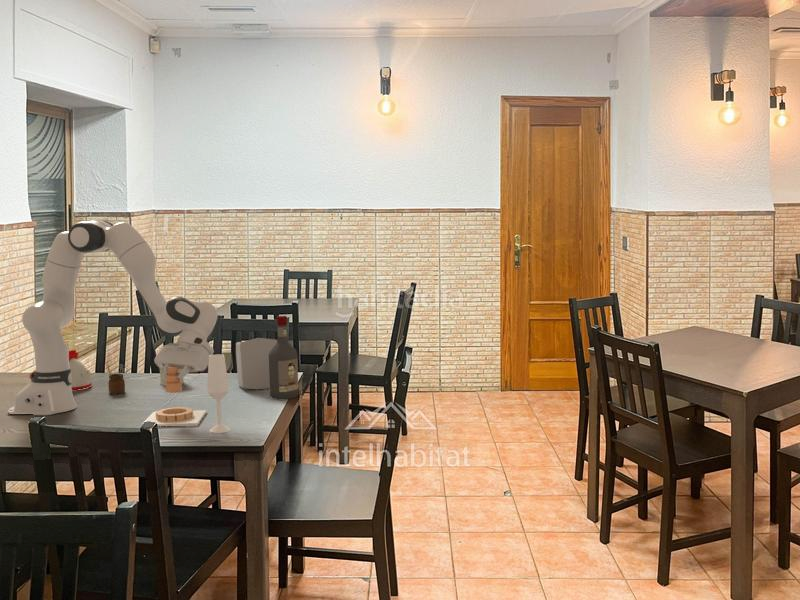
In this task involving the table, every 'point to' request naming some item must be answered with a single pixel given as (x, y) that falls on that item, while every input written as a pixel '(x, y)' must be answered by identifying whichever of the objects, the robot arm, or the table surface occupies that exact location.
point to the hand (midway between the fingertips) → (171, 378)
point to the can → (162, 379)
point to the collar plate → (179, 423)
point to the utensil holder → (116, 382)
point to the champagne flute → (217, 386)
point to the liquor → (283, 365)
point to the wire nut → (173, 380)
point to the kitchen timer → (78, 372)
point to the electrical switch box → (254, 363)
